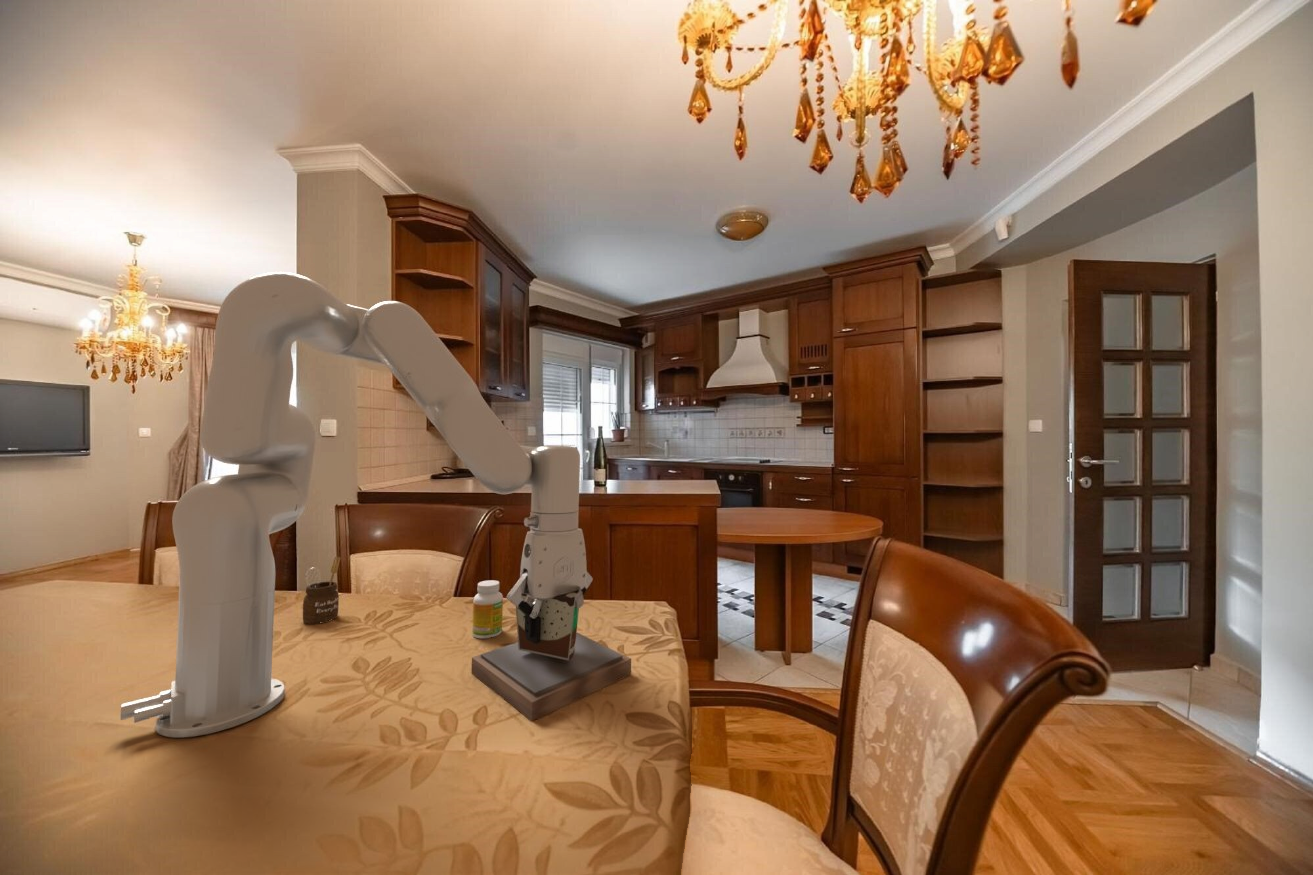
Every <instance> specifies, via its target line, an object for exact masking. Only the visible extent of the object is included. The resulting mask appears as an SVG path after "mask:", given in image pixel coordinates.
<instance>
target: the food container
mask: <svg viewBox="0 0 1313 875" xmlns="http://www.w3.org/2000/svg"><path fill="white" fill-rule="evenodd" d="M526 596H527V594H523V593H522V594H521V598H522V599H523V600H524V601H525V599H526ZM584 601H585V600H584V595H583V594H582V591H581V588H580V586H579V588H578V591H576V592H573V593H569V594H565V595H560V596H556V597H554V598H550V599H546V600H543V601H542V604H541V607H540V610H539V612H538V616H539V617H540V618H541V634H540V642H539V643H537V644H535V643H533V642H531V641H529V640H528V639H526V636H525V614H523V613H522V611H520V610H519V609H518V608H517V607H516V606H515V616H516V618H515V619H516V630H517V632H516V633H517V642H518V650H521V651H526V652H531V653H536V654H541V655H545V656H550V657H555V658H560V659H565V660H570V659H571V658H572V657H573V655H574V651H575V641H576V632H577V631H578V623H579V622H578V621H579V611H580V608H582V607H583V606H584V603H585V602H584ZM533 602H534V601H533ZM577 633H578V632H577Z"/></svg>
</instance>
